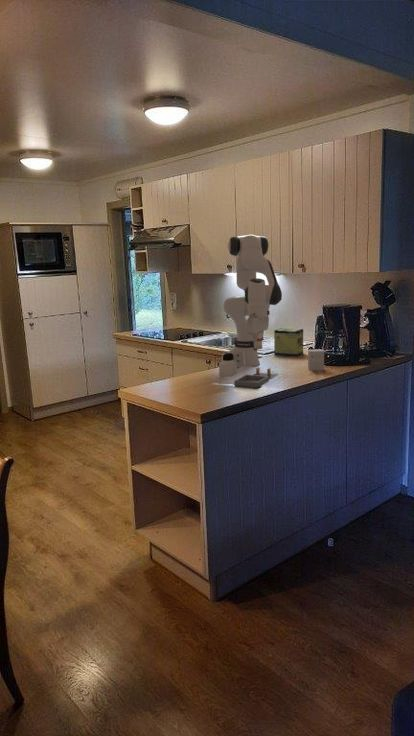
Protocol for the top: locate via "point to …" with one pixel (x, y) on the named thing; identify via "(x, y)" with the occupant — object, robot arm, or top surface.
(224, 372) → the medicine bottle
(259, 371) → the clip holder
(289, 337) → the protein box
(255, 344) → the fuse
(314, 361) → the small box
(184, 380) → the top surface
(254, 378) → the tray
